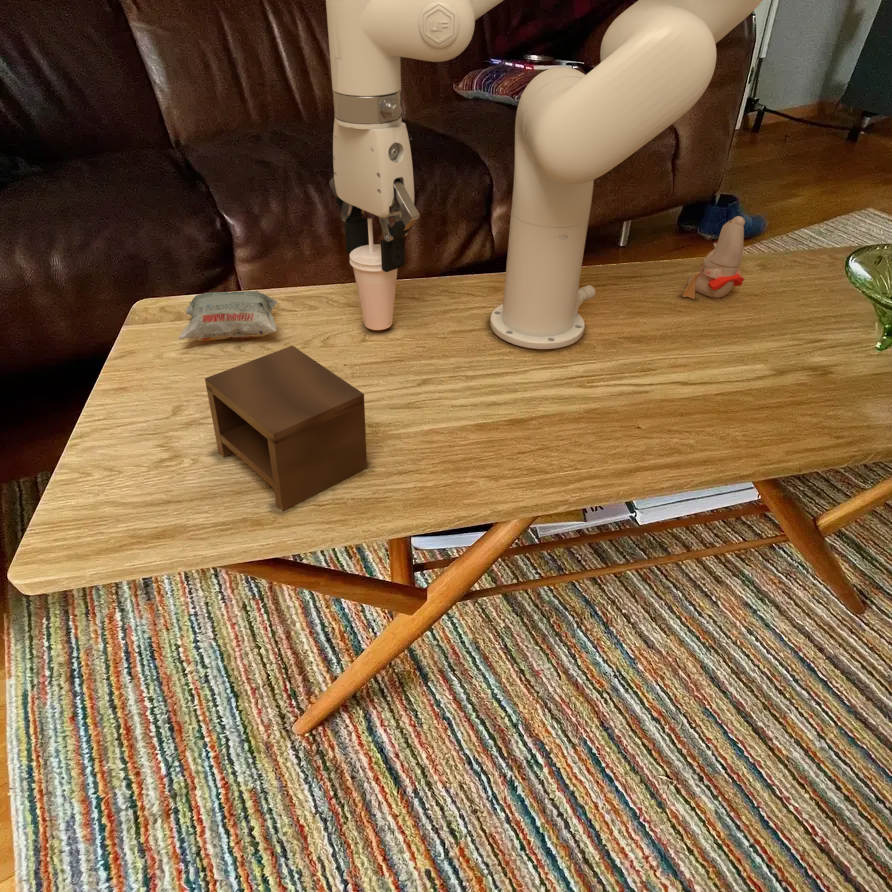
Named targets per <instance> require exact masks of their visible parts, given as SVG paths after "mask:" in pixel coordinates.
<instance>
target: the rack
mask: <svg viewBox="0 0 892 892" xmlns="http://www.w3.org/2000/svg"><path fill="white" fill-rule="evenodd" d="M204 382H205V387H206V393H207V398H208V403H209V409H210V415H211V419H212V425H213V430H214V436H215V441H216V446H217V452H218V453H219V454H220V455H221V456H222V457H223V458H227V457H229V456H231V455H234V454H235V455H236V456H237V457H238V458H239V459H240V460H241V461H243V462H244V463H245V464H246V465H247V466H248V467H249V468H250V469H251V470H253V472H255V473H256V474H257V475H258V476H259V477H260V478H261V479H263V480H264V481H265V482H266V483H267V484H268V485H270V486H271V488H273V491H274V498H275V504H276V506H277V507H278V508H279V509H280V510H281V511H282V512H285V511H287V510H289V509H290V508H292V507H294V506H296V505H299V504H300V503H302V502H304V501H306V500H308V499H310V498H312V497H314V496H316V495H317V494H319V493H322V492H323V491H325V490H328V489H329V488H331V487H333V486H336V485H337V484H338V483H342V482H343V481H344V480H347V479H349V478H350V477H352V476H355V475H356V474H359V473H360V472H362V471H364V470H367V468H368V461H367V458H368V457H367V435H366V409H365V394H364V393H363V392H362V391H361V390H359V389H358V388H356V387H355V386H353V385H352V384H350V383H349V382H347V381H346V380H344V379H343V378H341V376H339V375H337V374H335V373H334V372H333V371H331V370H330V369H328V368H327V367H325V366H324V365H322V364H321V363H320V362H318V361H316V360H314V359H313V358H312V357H310V356H309V355H307V354H305V353H304V352H303V351H301V350H300V349H299V348H297V347H295V346H294V345H290V346H287V347H285V348H282V349H279V350H277V351H274V352H272V353H269V354H266V355H262V356H260V357H258V358H256V359H252V360H250V361H247V362H244V363H242V364H239V365H236V366H233V367H231V368H229V369H226V370H223V371H220V372H218V373H215V374H212V375H210V376H208V377H205V378H204Z"/></svg>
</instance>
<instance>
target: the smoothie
mask: <svg viewBox="0 0 892 892" xmlns="http://www.w3.org/2000/svg"><path fill="white" fill-rule="evenodd" d="M367 225H368V244H369V245H365V246H361V247H358V248H356V249H354V250H353V251H351V253H350V254H349V265H350V266H351V267H352V270H353V274H354V280H355V284H356V288H357V289H356V290H357V294H358V300H359V305H360V309H361V315H362V319H363V325H364V326H365V328H367V329H368V330H369V329H370V330H373V331H381V330H386V329H389V328H391V327H392V325H393V318H394V309H395V301H396V300H395V299H396V288H397V277H398V269H399V268H397V269H395V270H392V271H389V272H385V271H383V270H382V262H381V243H380V244H379V243H378V244H377V243H376V244H374V229H373V226H374V225H373V217H367Z"/></svg>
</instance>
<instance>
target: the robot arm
mask: <svg viewBox="0 0 892 892" xmlns="http://www.w3.org/2000/svg"><path fill="white" fill-rule="evenodd" d="M503 1H504V0H325V8H326V21H327V23H326V24H327V35H328V49H329V50H328V51H329V61H330V74H331V75H330V76H331V77H330V78H331V88H332V91H331V92H332V104H333V116H334V120H333V133H332V166H333V177H332V178H331V179H330V180H329V182H328V184H329V185H328V186H329V188H330V190H331V191H332V194H333V196H334V197H335V202H336V205H337V206H338V208H339V210H340V220H341V221H342V223H343V222H344V223H343V228H344V229H343V230H344V240H345V252H346V253H347V254H348V255H350V253H351V251H353V250H354V249H356V248H358V247H361V246H365V245H369V235H368V217H366V216H364V214H365V212H367V213H369V214H371V215H373V216H376V217H377V219H378V221H379V224H380V228H381V232H382V235H383V239H380V245H381V262H382V270H383V271H385V272H389V271H392V270H395V269H397V268H398V269H400V268H402V267H405V264H406V263H405V262H406V259H405V257H406V256H405V255H406V254H405V253H406V252H405V237H406V236H408V233H409V231H410V230H411V229H412V228H413V226H414V225H415V223H416V222H417V221H418V220H419V218H420V213H419V211H418V209H417V207H416V205H415V179H414V167H413V165H414V164H413V158H412V157H413V156H412V150H411V144H410V138H409V132H408V128H407V125H406V123H405V122H403V108H402V68H401V67H402V66H401V65H402V64H401V58H406V59H411V60H412V59H413V60H417V61H424V62H431V63H432V62H433V63H441V62H447V61H450V60H453V59H455V58H456V57H458V56H459V55H461V54H462V53H463V52H464V51H465V50H466V49H467V48H468V47H469V44H470V43H471V41H472V39H473V36H474V32H475V27H476V26H475V25H476V21H477V20H478V19H479V18H481V17H482V16H483V15H485V14H486V13H487V12H489V11H490V10H492V9H493V8H494V7H496V6H497V5H499V4H501V3H503ZM763 1H764V0H637V1H635V2H634V3H633V4H632V5H630V6H629V7H628V8H626V9H625V10H624V11H623V12H621V13H620V14H619V15H618V16H617V17H615V19H613V21H612V22H611V24H610V25H609V26H608V28H607V29H606V31H605V33H604V35H603V38H602V41H601V43H600V49H599V50H600V51H599V52H600V53H599V54H600V55H599V59H600V63H598V64H597V65H596V66H595V67H593V69H591V70H590V71H589V72H587V73H586V74H585V73H584V72H582V71H580V70H578V69H575V68H572V67H567V66H556V67H551V68H549V69H546V70H545V69H544V71H542V72H540V73H538V74H537V75H536V76H534V77H533V78H532V79H531V80H530V82H529V83H528V84H527V85H526V87H525V88H524V90H523V92H522V94H521V96H520V98H519V101H518V104H517V108H516V114H515V121H514V122H515V123H514V165H513V166H514V170H513V184H512V185H513V186H512V197H511V198H512V199H511V210H510V220H509V230H508V232H509V233H508V242H507V253H506V254H507V257H506V268H505V278H504V289H503V302H502V303H501V304H499V305H498V306H496V307H495V308H494V309H493V310H492V312H491V313H490V318H489V320H490V321H489V326H490V328H491V330H492V332H493V333H494V335H496V336H497V337H499V338H500V339H501V340H503V341H505V342H507V343H509V344H511V345H514V346H518V347H522V348H527V349H533V350H554V349H561V348H566V347H569V346H571V345H573V344H575V343H576V342H578V341H580V339H581V338H582V337H583V335H584V333H585V327H586V326H585V325H586V323H585V320H584V318H583V317H582V315H581V314H580V313H579V312H578V311H579V308H580V307H581V306H582V305H583V303H585V302H587V301H589V300H592V299H594V298H595V297H596V289H595V288H594V286H593V285H591V284H588V285H585V286H583V287H580V282H581V281H580V280H581V272H582V266H583V260H584V254H585V253H584V252H585V248H586V247H585V246H586V240H587V234H588V233H587V232H588V227H589V221H590V220H589V219H590V217H591V215H590V214H591V208H592V201H593V193H594V183H595V181H594V180H596V179H598V178H601V177H602V176H603V175H605V174H607V173H608V172H610V171H611V170H613V169H614V168H616V167H617V166H618V165H620V164H622V162H624V161H625V160H626V159H628V158H629V157H630V156H632V155H633V154H634V153H636V152H637V151H638V150H640V149H641V148H642V147H644V146H645V145H646V144H648V143H649V142H650V141H652V140H653V139H654V138H656V137H657V136H659V134H661V133H662V132H663V131H665V130H666V129H668V128H669V127H671V126H672V125H673V124H674V123H675V122H677V121H678V120H679V119H681V118H682V117H683V116H684V115H685V114H686V113H688V112H689V111H690V110H691V109H692V108H693V107H694V106H695V104H696V103H697V102H698V101H699V99H701V97H702V96H703V95H704V93H705V92H706V90H707V89H708V86H709V84H710V82H711V81H712V78H713V75H714V72H715V69H716V64H717V46H716V44H718V42H720V41H721V40H722V39H723V38H724V37H726V36H727V35H728V34H729V33H730V32H731V31H732V30H733V29H735V28H736V27H737V26H738V25H740V24H741V23H742V22H743V21H745V19H747V18H748V17H749V16H750V15H751V14H752V13H753V12H754V11H755V10H756V9H757V8H758V7H759V6H760V4H762V2H763ZM390 207H391V209H392V210H390ZM392 217H393V219H394V223H393V225H391V222H390V219H389V218H392ZM398 269H397V270H398Z"/></svg>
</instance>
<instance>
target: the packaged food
mask: <svg viewBox="0 0 892 892" xmlns="http://www.w3.org/2000/svg"><path fill="white" fill-rule="evenodd" d="M276 305H278V301H277V300H276V299H274V298H273V297H271V296H269V295H266V294H265V293H263V292H260V291H258V290H243V291H242V290H240V291H239V290H238V291H230V292H229V291H215V292H214V291H213V292H212V291H211V292H203V293H200V294H196V295H195V296H194V297H193V298H192V300H191V301H190V302H189V305H188V306H186V308H185V313H186V315H189V316H191V318H190V320H189V323H188V324H187V326H186V327H185V328H184V329H183V330H182V332H181V333H180V334H179V336H178V340H179V341H180V340H185V339H194V340H196V341H200V342H208V341H218V340H219V341H221V340H229V339H236V340H240V339H249V338H258V337H265V336H266V335H271V334H275V333H276V332H277V331H278V326H277V324H276V323H275V320H276V318H275V317H274V316H273V314H272V311H273V309H274V308H275V306H276Z"/></svg>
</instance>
